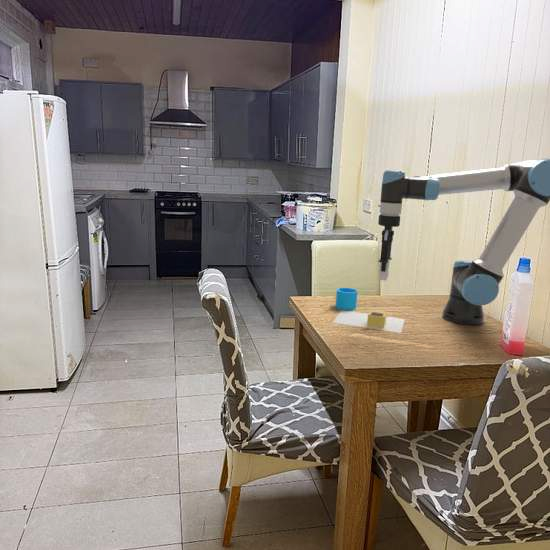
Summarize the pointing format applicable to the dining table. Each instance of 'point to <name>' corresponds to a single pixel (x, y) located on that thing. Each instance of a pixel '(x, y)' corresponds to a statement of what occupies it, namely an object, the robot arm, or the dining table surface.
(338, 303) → the mug
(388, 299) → the dining table surface
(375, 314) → the block
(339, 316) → the drywall panel
